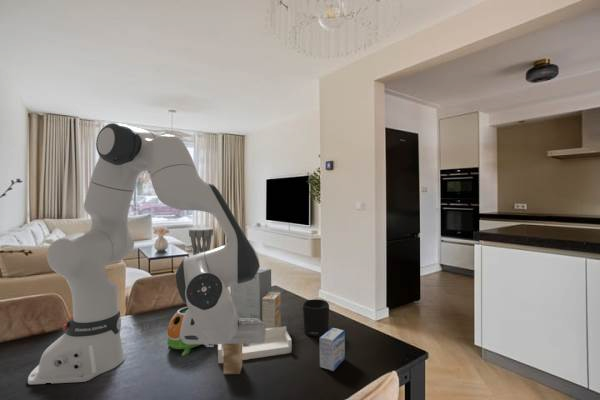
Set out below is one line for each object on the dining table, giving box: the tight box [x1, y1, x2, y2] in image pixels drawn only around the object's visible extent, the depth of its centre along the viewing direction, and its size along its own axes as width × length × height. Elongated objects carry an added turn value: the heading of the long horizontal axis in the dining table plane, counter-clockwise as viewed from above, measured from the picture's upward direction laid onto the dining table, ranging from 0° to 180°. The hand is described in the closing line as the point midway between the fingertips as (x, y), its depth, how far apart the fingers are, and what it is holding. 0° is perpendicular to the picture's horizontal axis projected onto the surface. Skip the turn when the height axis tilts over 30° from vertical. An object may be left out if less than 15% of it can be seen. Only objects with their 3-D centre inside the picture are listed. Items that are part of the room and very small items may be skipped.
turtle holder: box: [166, 306, 208, 357], centre depth 103 cm, size 12×18×12 cm
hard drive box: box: [230, 267, 272, 321], centre depth 122 cm, size 16×8×20 cm, turn 58°
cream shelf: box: [217, 325, 293, 364], centre depth 96 cm, size 22×8×5 cm, turn 106°
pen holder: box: [302, 298, 330, 338], centre depth 110 cm, size 9×9×10 cm
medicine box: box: [319, 327, 346, 372], centre depth 90 cm, size 8×4×9 cm, turn 148°
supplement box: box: [262, 291, 282, 329], centre depth 111 cm, size 8×5×13 cm, turn 168°
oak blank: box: [223, 344, 243, 375], centre depth 86 cm, size 4×4×10 cm
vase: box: [188, 226, 214, 256], centre depth 130 cm, size 14×13×35 cm
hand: (229, 343), depth 82 cm, fingers open, 8 cm apart
